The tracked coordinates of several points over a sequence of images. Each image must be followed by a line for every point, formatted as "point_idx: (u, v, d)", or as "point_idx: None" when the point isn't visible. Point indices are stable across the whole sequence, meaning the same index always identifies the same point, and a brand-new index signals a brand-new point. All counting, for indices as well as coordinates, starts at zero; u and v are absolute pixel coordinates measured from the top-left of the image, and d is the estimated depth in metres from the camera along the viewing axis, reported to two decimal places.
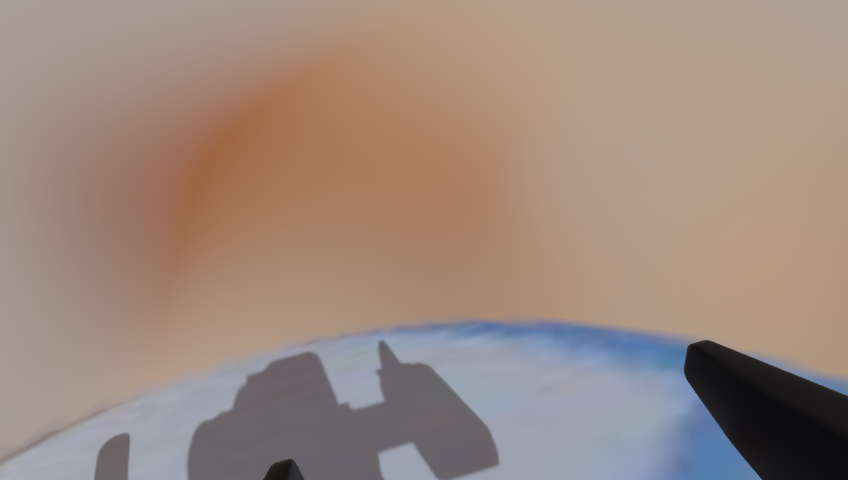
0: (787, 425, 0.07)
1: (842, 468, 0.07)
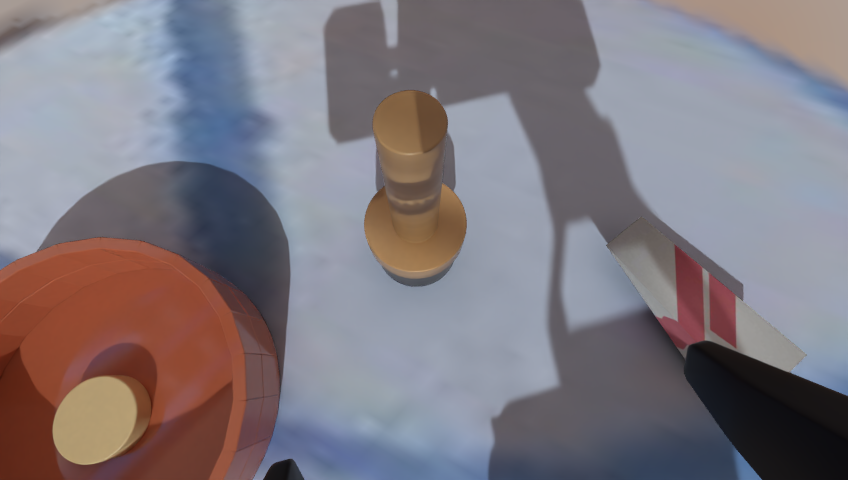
0: (787, 425, 0.07)
1: (842, 468, 0.07)
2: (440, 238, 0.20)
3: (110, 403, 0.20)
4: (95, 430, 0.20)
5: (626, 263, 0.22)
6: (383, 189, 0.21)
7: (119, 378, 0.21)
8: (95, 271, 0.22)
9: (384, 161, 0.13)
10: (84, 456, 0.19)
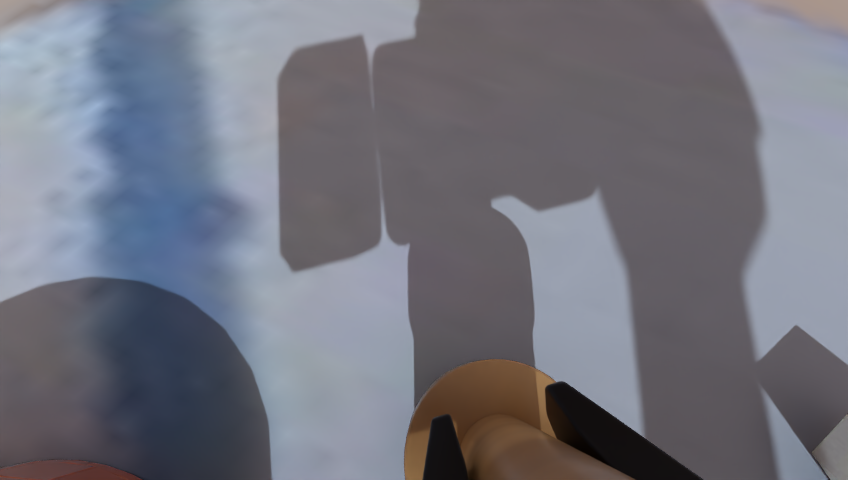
0: None
1: None
2: None
3: None
4: None
5: None
6: (438, 388, 0.11)
7: None
8: None
9: None
10: None
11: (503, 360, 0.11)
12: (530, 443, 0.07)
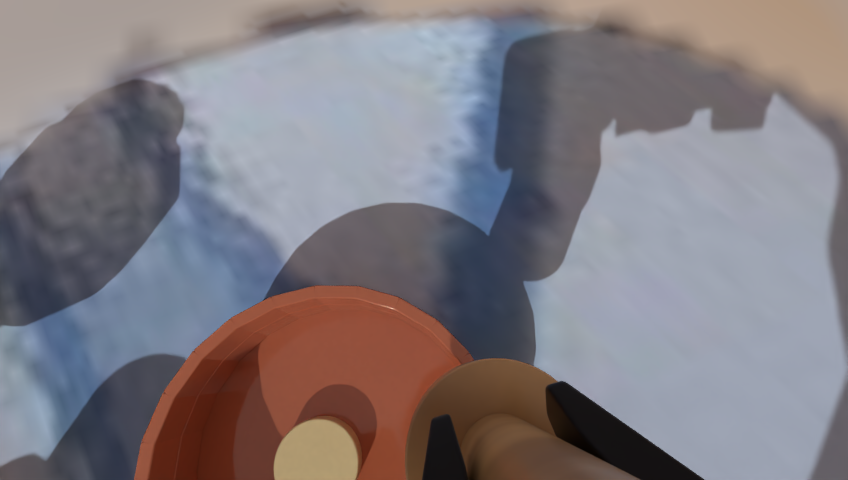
0: None
1: None
2: None
3: (335, 456, 0.19)
4: (314, 476, 0.19)
5: None
6: (438, 387, 0.11)
7: (348, 432, 0.20)
8: (357, 307, 0.21)
9: None
10: None
11: (504, 359, 0.11)
12: (531, 442, 0.07)
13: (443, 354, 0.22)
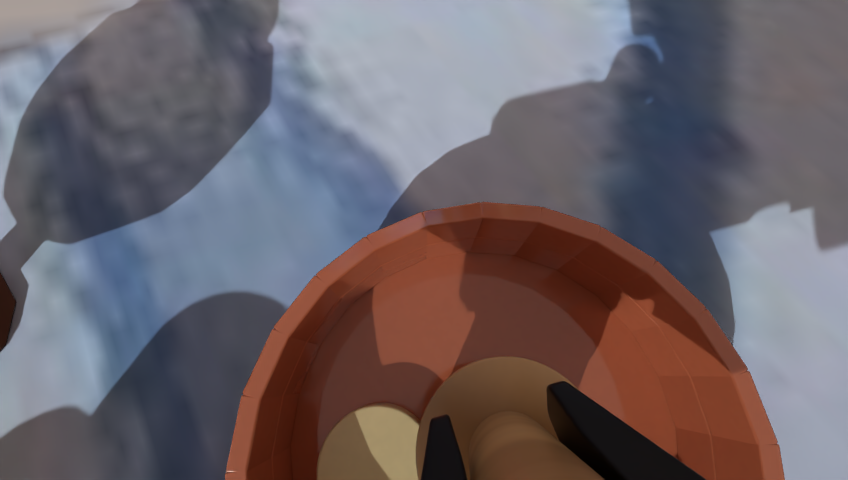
0: None
1: None
2: None
3: (403, 461, 0.14)
4: None
5: None
6: (445, 387, 0.11)
7: None
8: (511, 246, 0.16)
9: None
10: None
11: (510, 357, 0.11)
12: (518, 444, 0.07)
13: (617, 319, 0.16)
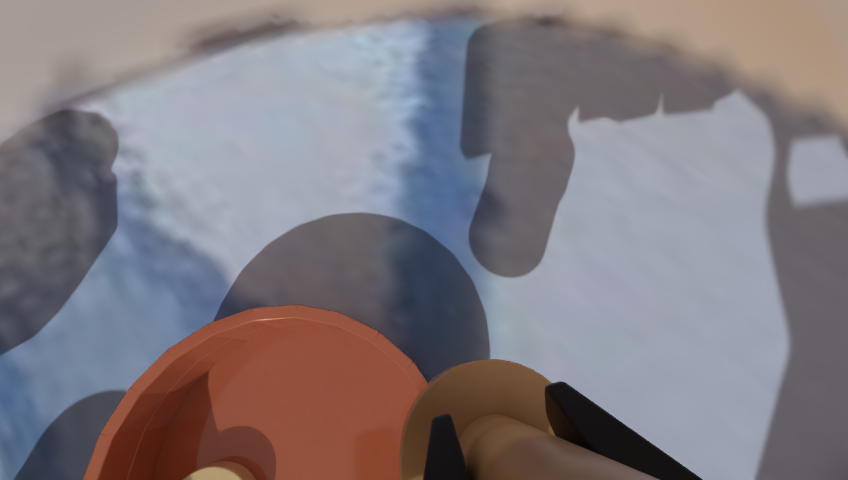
0: None
1: None
2: None
3: None
4: None
5: None
6: (432, 389, 0.11)
7: (243, 478, 0.19)
8: (304, 324, 0.21)
9: None
10: None
11: (497, 360, 0.11)
12: (532, 440, 0.07)
13: None
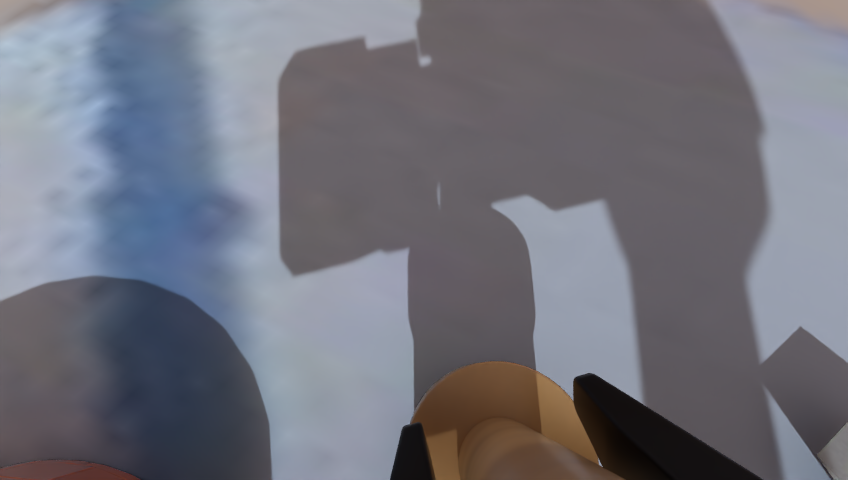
0: (643, 469, 0.07)
1: None
2: None
3: None
4: None
5: None
6: (436, 392, 0.11)
7: None
8: None
9: None
10: None
11: (502, 362, 0.11)
12: (530, 448, 0.07)
13: None
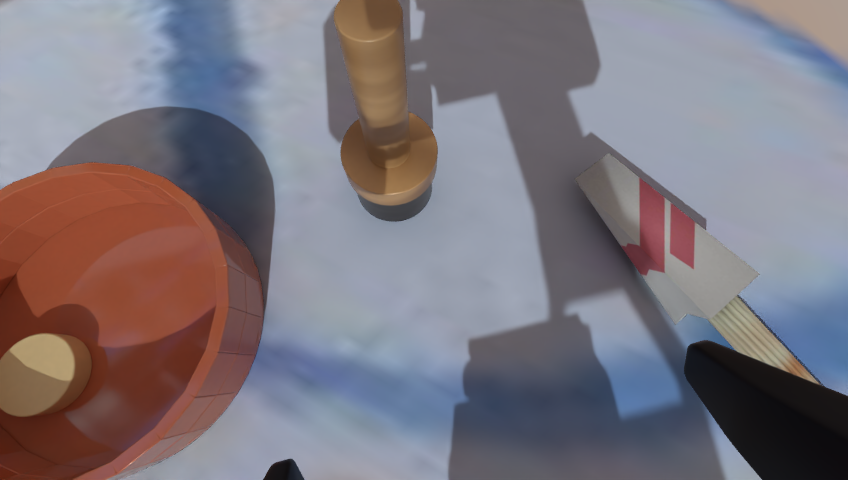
0: (787, 425, 0.07)
1: (842, 468, 0.07)
2: (412, 164, 0.21)
3: (49, 360, 0.21)
4: (33, 384, 0.20)
5: (593, 195, 0.23)
6: (358, 120, 0.22)
7: (60, 336, 0.21)
8: (88, 202, 0.23)
9: (347, 56, 0.14)
10: (20, 408, 0.20)
11: None
12: None
13: (189, 213, 0.24)
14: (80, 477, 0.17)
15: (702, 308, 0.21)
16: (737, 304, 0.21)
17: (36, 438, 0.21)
